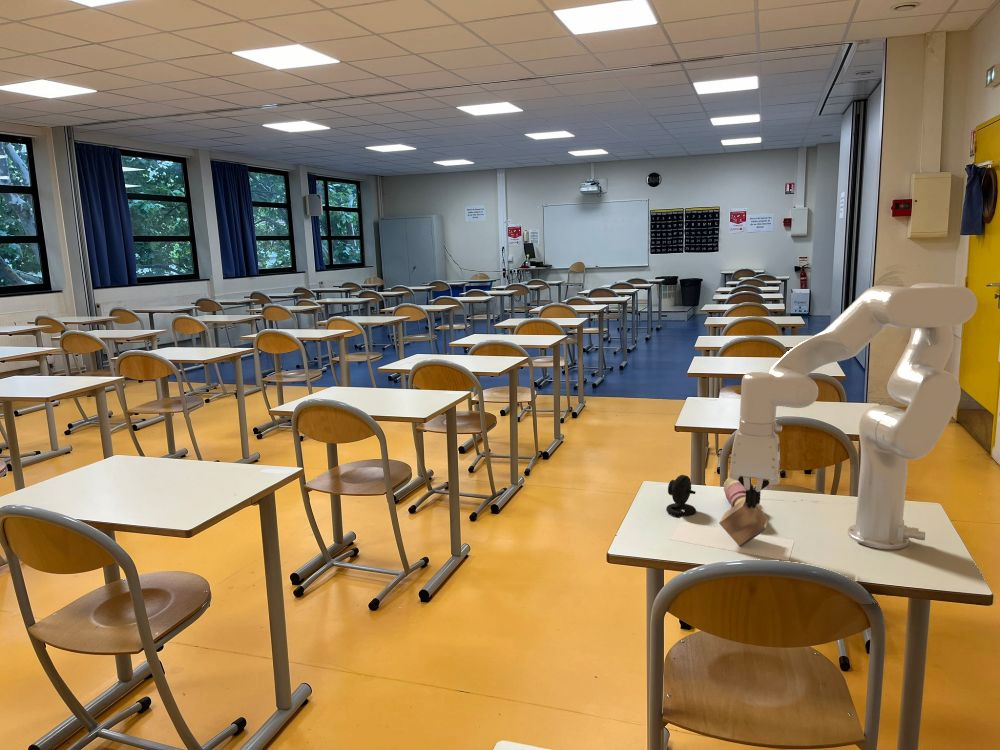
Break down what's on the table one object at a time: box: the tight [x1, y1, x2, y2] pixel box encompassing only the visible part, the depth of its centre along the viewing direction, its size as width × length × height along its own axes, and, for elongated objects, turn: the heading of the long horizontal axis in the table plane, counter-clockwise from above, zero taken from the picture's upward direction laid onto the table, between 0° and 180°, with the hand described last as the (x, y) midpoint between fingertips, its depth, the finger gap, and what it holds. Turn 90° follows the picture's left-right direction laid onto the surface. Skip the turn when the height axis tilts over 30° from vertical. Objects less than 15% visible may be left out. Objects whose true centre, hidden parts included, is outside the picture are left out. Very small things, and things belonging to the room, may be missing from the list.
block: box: [719, 499, 770, 547], centre depth 162 cm, size 7×7×7 cm
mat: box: [669, 521, 795, 561], centre depth 164 cm, size 26×12×1 cm, turn 62°
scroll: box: [723, 477, 763, 513], centre depth 181 cm, size 8×8×20 cm
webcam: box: [665, 474, 697, 518], centre depth 182 cm, size 8×8×10 cm
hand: (752, 505), depth 161 cm, fingers closed
